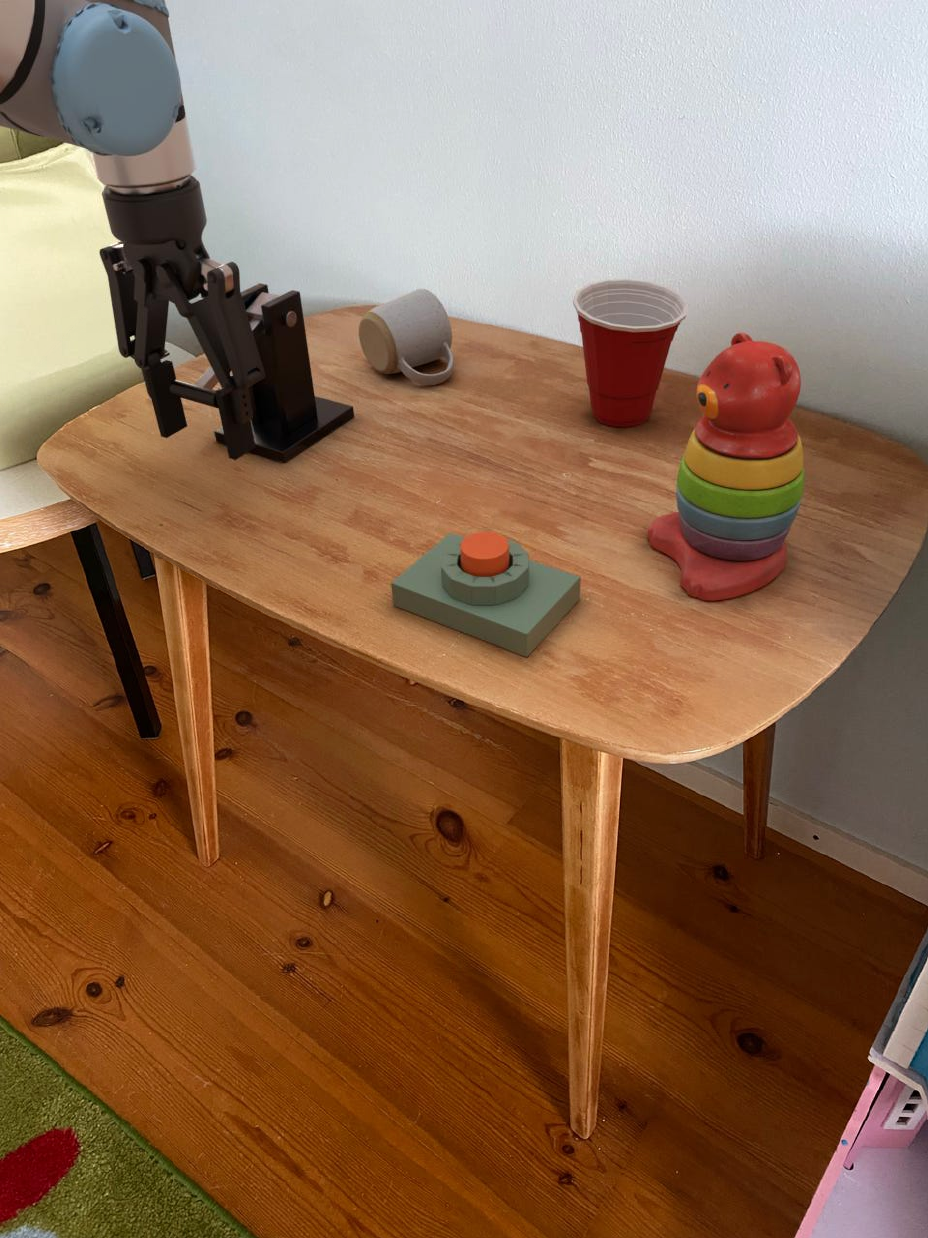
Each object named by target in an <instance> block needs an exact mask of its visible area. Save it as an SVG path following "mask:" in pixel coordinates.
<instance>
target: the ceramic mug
mask: <svg viewBox="0 0 928 1238" xmlns="http://www.w3.org/2000/svg"><path fill="white" fill-rule="evenodd" d="M448 315H449V314H448V313H447V311H446V309H445V307H444V305H443V303H442V302H441V301H440V299H439V298H438V297H437V295H436V294H434V293H433V292H432V291H430V290H429V289H426V288H418V289H415V290H413V291H410V292H409V293H406V294H404V295H401V296H399V297H397V298H394V299H392V300H390V301H388V302H385V303H382V304H380V305H377V306H374V307H373V308H372V309H370V310H369V311H367V312H366V313H364V314H363V315H362V317H361V319H360V321H359V324H358V339H359V343H360V347H361V350H362V352H363V354H364V356H365V358H366V360H367V362H368V363H369V365H370V366H371V367H373V369H374V370H376V371H377V372H379V373H381V374H384V375H392V374H398V373H401V372H402V374H403V375H404V376H405V377H406V378H407V379H409V380H410V381H412V383H413V382H414V383H416V384H419V385H421V386H435V385H436V386H437V385H439V384H442V383H444V382H445V381H447V380H448V379H449V378H450V376H451V374H452V371H453V366H454V357H453V352H452V350H451V348H452V344H453V343H452V342H453V332H452V325H451V322H450V319H449V316H448ZM442 358H444V359H445V361H446V363H447V366H446V369H445V370H444V371H441V372H438V373H432V374H430V373H429V374H428V373H422V372H419V371H417V370H416V369H414V368H415V367H419V366H422V365H426V364H428V363H431V362H434V361H438V360H441V359H442Z"/></svg>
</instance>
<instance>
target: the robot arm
mask: <svg viewBox="0 0 928 1238" xmlns="http://www.w3.org/2000/svg"><path fill="white" fill-rule="evenodd" d="M169 18H170V12H169V9H168V7H167V4H166V0H0V127H2V128H7V129H10V130H13V131H17V132H22V133H26V134H29V135H33V136H37V137H44V138H48V139H52V140H55V141H58V142H62V143H65V144H69V145H72V146H76V147H78V148H83V149H85V150H87V151H88V152H90V157H91V159H92V160H91V161H92V164H93V169H94V173H95V176H96V180H98V181H99V182H100V183H101V184H102V185H104V188H103V190H102V192H101V197H102V201H103V205H104V208H105V209H104V210H105V212H106V218H107V220H108V224H109V229H110V232H111V234H112V235H113V237H114V238H115V239H116V240H118V242H115V243H112V244H110V245H108V246H105V247H101V248H100V249H99V257H100V260H101V262H102V265H103V268H104V270H105V273H106V275H107V280H108V286H109V294H110V302H111V307H112V314H113V321H114V329H115V334H116V340H117V347H118V352H119V353H120V355H121V356H122V357H123V358H125V359H127V358H129V357H130V358H131V359H133V360H134V363H135V365H136V366H137V367H138V368H139V369H140V371H141V375H142V377H143V381H144V384H145V389H146V393H147V395H148V397H149V399H150V400H151V403H152V406H153V412H154V414H155V419H156V423H157V427H158V431H159V433H160V437H161V438H164V439H168V438H169V437H171V436H173V435H175V434H176V433H179V432H180V431H182V430H183V429H185V428H188V423H187V418H186V415H185V409H184V405H183V400H182V398H180V397H177V396H173V395H172V394H171V393H170V390H169V387H170V384H171V382H172V381H174V380H177V375H176V371H175V368H174V363H173V361H172V360H168V359H166V360H164V361H162V360H163V359H164V358H166V357H169V356H170V355H171V353H170V352H168V350H167V349H166V338H167V328H168V327H167V326H168V317H169V308H170V307H169V306H170V303H172V304H174V306H175V308H176V310H177V311H178V314H179V316H180V317H183V318H185V319H186V320H187V321H188V324H189V325H190V327H191V329H192V332H193V333H194V335H195V337H196V339H197V341H198V343H199V345H200V346H201V349H202V351H203V353H204V355H205V357H206V359H207V361H208V363H209V365H210V366H211V367H212V369H213V371H214V373H215V375H216V377H217V379H218V381H219V382H218V384H219V385H220V388H217V389H216V390H215V394H216V399H217V403H218V408H217V409H218V413H219V417H220V422H221V427H223V432H224V437H225V441H226V445H225V446H226V450H227V456H228V459H230V460H233V461H236V460H238V459H239V458H241V457H243V456H244V455H246V454H247V453H250V452H249V451H251V450H252V449H254V448H255V442H254V436H253V431H252V426H251V419H252V418H253V411H252V405H251V400H250V394H249V389H248V387H250V386H252V385H253V384H255V383H257V382H259V381H260V380H262V379H264V378H265V372H264V369H263V365H262V362H261V359H260V355H259V352H258V349H257V345H256V342H255V339H254V335H253V332H252V329H251V325H250V322H249V319H248V315H247V312H246V309H245V305H244V302H243V299H242V295H241V292H242V291H241V278H240V275H241V274H240V268H239V266H238V264H237V263H236V262H234V261H229V262H226V263H224V264H222V263H219V262H217V261H216V260H215V261H214V260H213V259H211V258H210V255H209V252H208V251H207V248H206V247H205V244H204V241H203V233H204V230H205V228H206V226H207V222H208V220H207V215H206V208H205V203H204V198H203V193H202V188H201V183H200V181H199V180H198V179H197V178H196V177H195V176H193V175H192V174H193V173H194V172H195V171H196V169H197V164H196V160H195V155H194V149H193V145H192V139H191V134H190V129H189V124H188V118H187V115H186V114H187V113H186V109H185V105H184V104H185V102H184V97H183V90H182V84H181V82H182V81H181V75H180V71H179V67H178V63H177V59H176V53H175V48H174V42H173V37H172V32H171V27H170V22H169V21H170V20H169ZM199 296H201V297H200V298H199V299H198V300H196V301H193V302H191V301H192V300H194V299H196V298H198V297H199ZM131 337H133V339H131Z"/></svg>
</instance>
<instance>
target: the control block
mask: <svg viewBox="0 0 928 1238" xmlns="http://www.w3.org/2000/svg"><path fill="white" fill-rule="evenodd" d="M464 538H465V537H463V536H461V535H458V534H456V533H451V532H448V534H447V535H444V537H443V538H442V539H441V540H440V541H438V542H437V543H436V544H435V545H434V546H432V547H431V548H430V549H429V550H428V551H426V552H425V553H424V554H423V555H422V556H420V557H419V558H418V559H417V560H416V561H415V562H414V563H413V564H411V565H410V566H409V567H408V568H406V569H405V570H403V572H402V573H401V574H400V575H398V576H397V577H396V578H394V580H393V581H391V583H390V585H391V596H392V597H391V598H392V605H393V606H394V607H395V608H399V609H402V610H404V611H407V612H409V613H412V614H414V615H417V616H420V617H422V618H425V619H426V620H430V621H432V622H435V623H437V624H440V625H442V626H445V627H448V628H451V629H453V630H456V631H458V632H461V633H464V634H466V635H468V636H470V637H473V638H476V639H479V640H481V641H484V642H486V643H489V644H491V645H494V646H497V647H498V648H499V647H500V648H502V649H504V650H507V651H509V652H512V653H514V654H517V655H520V656H523V657H525V658H528V657H529V656H530V655H531V654H532V653H533V652H534V651H535V649H536V648H537V647H538V646H539V645H540V644H541V643H542V642H543V641H544V639H545V638H546V637H547V636H548V635H549V634H550V633H551V632H552V631H553V630H554V628H555V627H556V626H557V625H558V624H559V623H560V622H561V621H562V620H563V619H564V617H565V616H566V615H567V614H568V613H569V612H570V611H571V610H572V608H573V607H574V606H575V605H576V604H577V603H578V602H579V601H580V599H581V580H582V579H581V576H580V575H577V574H573V573H570V572H568V571H565V570H562V569H559V568H556V567H552V566H551V565H547V564H544V563H541V562H538V561H535V560H532V559H530V555H529V553H528V552H527V550H525V549H524V548H523V546H521V544H519V543H518V542H517V541H514V540H510V539H507V538H506V539H507V541H508V543H509V567H508V569H507V570H506V571H505V572H504V573H502V574H499V575H495V576H492V577H476V576H473V575H470V574H467V573H465V572H464V570H463V569H462V567H461V551H460V545H461V542H462V541H463V539H464Z"/></svg>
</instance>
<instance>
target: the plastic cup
mask: <svg viewBox="0 0 928 1238" xmlns="http://www.w3.org/2000/svg"><path fill="white" fill-rule="evenodd" d="M572 298H573V299H572V305H573V307H574V309H575V311H576V313H577V320H578V322H579V331H580V335H581V342H582V351H583V359H584V360H583V361H584V366H585V367H584V368H585V376H586V377H585V378H586V384H587V386H588V395H589V398H590V399H589V401H590V409H591V411H592V415H593V417H594V419H595V420H596V421H597V422H599V423H601V424H603V425H606V426H610V427H615V428H628V427H636V426H639V425H642V424H644V423H645V422H647V421H648V420H649V418H650V414H652V411H653V406H654V402H655V399H656V396H657V395H656V394H657V391H658V390H659V387H660V383H661V380H662V376H663V374H664V369H665V366H666V362H667V359H668V355H669V352H670V348H671V344H672V342H673V341H674V338H675V334H676V332H677V331H678V328H679V326H680V325H681V323H682V322H683V320H685V319H686V317H687V315H688V312H689V307H690V304H689V303H688V301H687V300H686V298H685V297H684V296H683V295H682V294H681V293H679V292H677V291H675V290H674V289H672V288H670V287H669V286H665V285H662V284H659V283H655V282H652V281H647V280H639V279H632V278H618V279H604V280H600V281H599V280H598V281H595V282H591V283H588V284H586V285H584V286H583V287H581V288H579V289H578V290H576V291H575V293H574V296H573V297H572Z"/></svg>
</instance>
